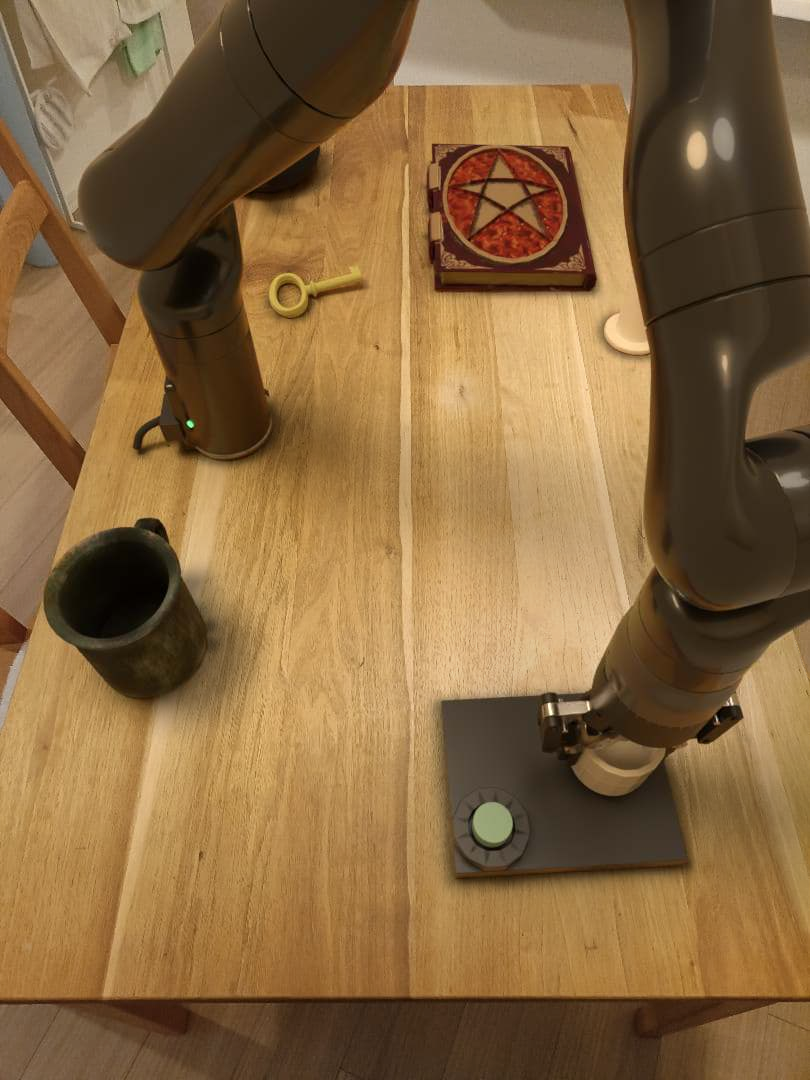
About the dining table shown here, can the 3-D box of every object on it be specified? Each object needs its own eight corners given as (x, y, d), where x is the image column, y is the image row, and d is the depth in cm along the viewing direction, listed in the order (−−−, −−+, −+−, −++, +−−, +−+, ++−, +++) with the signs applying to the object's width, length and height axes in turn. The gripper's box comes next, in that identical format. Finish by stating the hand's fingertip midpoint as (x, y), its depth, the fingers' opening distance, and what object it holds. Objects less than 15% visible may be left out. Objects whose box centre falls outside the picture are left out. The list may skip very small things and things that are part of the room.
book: (592, 294, 98) (601, 261, 94) (428, 292, 98) (430, 259, 94) (567, 167, 114) (574, 134, 110) (425, 165, 114) (426, 131, 109)
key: (368, 286, 99) (367, 272, 97) (284, 323, 95) (281, 309, 94) (340, 257, 102) (339, 243, 100) (258, 291, 99) (254, 278, 97)
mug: (79, 701, 69) (22, 643, 59) (123, 562, 77) (78, 490, 67) (199, 708, 68) (161, 652, 58) (230, 568, 76) (202, 496, 66)
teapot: (319, 219, 107) (309, 132, 96) (207, 222, 107) (185, 135, 96) (325, 121, 120) (316, 36, 110) (226, 124, 120) (208, 38, 110)
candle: (661, 359, 91) (735, 156, 70) (601, 351, 92) (657, 148, 71) (663, 319, 95) (733, 115, 74) (605, 312, 96) (658, 108, 75)
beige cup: (575, 798, 61) (588, 778, 56) (562, 720, 64) (573, 695, 59) (655, 794, 61) (675, 774, 56) (638, 716, 64) (655, 691, 60)
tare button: (473, 848, 59) (475, 844, 57) (469, 808, 60) (471, 802, 59) (512, 846, 59) (515, 841, 57) (508, 806, 60) (510, 800, 59)
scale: (454, 878, 60) (456, 870, 58) (440, 708, 68) (441, 693, 65) (680, 865, 61) (694, 856, 58) (642, 697, 68) (652, 682, 65)
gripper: (764, 607, 50) (687, 701, 64) (543, 618, 49) (515, 711, 63) (803, 719, 45) (712, 793, 59) (562, 732, 45) (527, 804, 59)
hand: (610, 750), depth 61 cm, fingers closed on beige cup, 6 cm apart
